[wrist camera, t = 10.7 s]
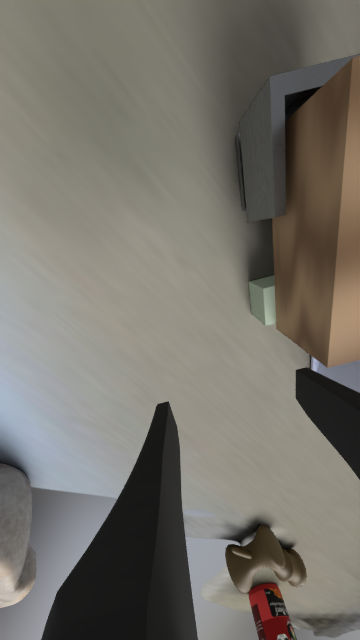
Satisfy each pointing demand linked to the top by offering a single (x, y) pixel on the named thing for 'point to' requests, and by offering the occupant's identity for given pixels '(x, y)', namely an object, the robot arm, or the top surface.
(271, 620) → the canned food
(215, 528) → the top surface
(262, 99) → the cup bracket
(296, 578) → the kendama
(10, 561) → the mortar
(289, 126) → the walnut rail
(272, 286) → the block
